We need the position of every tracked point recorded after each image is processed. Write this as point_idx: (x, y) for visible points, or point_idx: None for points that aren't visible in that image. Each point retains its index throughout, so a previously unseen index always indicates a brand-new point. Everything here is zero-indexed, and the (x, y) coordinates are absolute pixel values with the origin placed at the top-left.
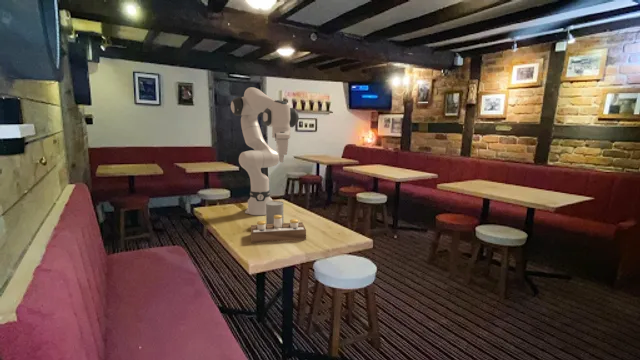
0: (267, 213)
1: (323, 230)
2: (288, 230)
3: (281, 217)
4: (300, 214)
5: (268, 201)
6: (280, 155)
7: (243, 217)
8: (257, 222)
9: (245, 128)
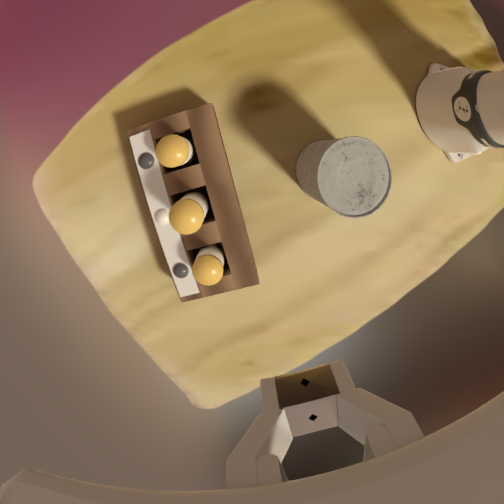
0: (319, 146)
1: (272, 327)
2: (163, 249)
3: (180, 232)
4: (427, 245)
5: (464, 140)
6: (230, 468)
7: (393, 58)
8: (163, 137)
9: None
